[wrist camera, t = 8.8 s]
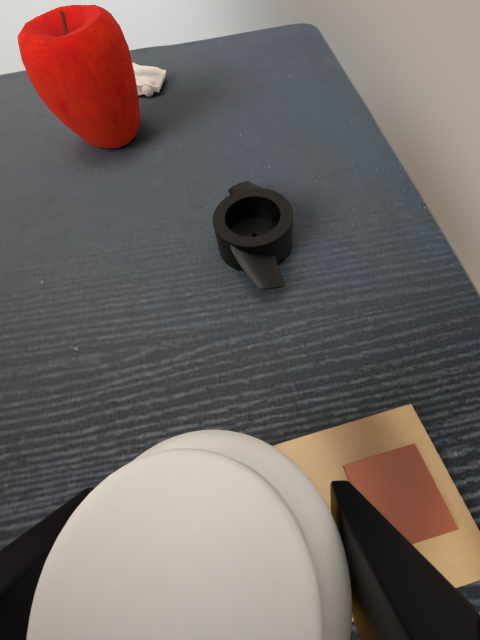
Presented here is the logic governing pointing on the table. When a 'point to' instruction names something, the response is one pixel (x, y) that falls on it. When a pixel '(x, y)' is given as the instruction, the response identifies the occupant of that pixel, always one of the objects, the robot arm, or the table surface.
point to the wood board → (397, 484)
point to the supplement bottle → (198, 551)
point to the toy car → (148, 79)
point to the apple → (83, 72)
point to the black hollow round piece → (254, 232)
